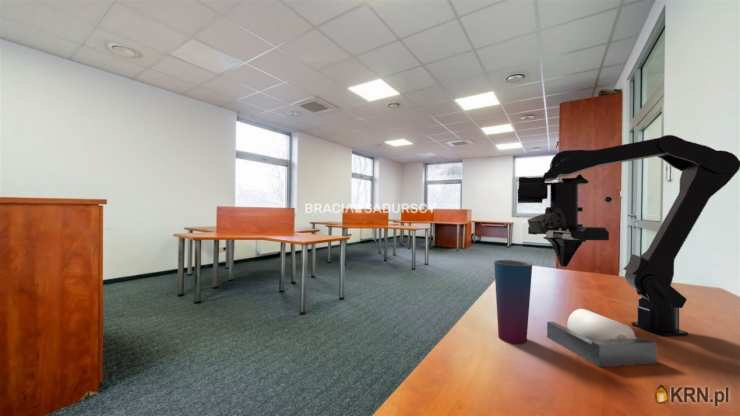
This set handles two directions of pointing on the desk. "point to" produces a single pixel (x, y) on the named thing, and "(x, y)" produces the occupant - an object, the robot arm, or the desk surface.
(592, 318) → the roll
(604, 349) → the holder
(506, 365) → the desk surface
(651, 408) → the desk surface
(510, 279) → the cup
